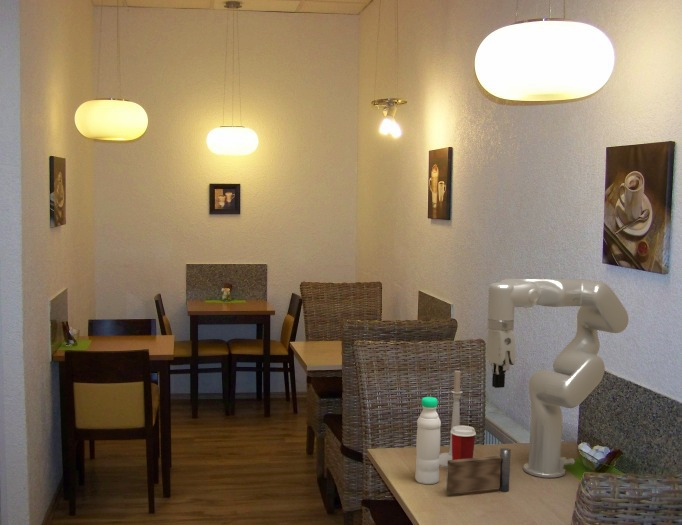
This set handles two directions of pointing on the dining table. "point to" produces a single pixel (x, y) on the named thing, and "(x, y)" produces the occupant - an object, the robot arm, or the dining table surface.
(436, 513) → the dining table surface
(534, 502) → the dining table surface
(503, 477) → the gate posts
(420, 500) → the dining table surface
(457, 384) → the candlestick
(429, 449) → the water bottle
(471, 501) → the dining table surface
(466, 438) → the paper cup
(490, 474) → the gate
